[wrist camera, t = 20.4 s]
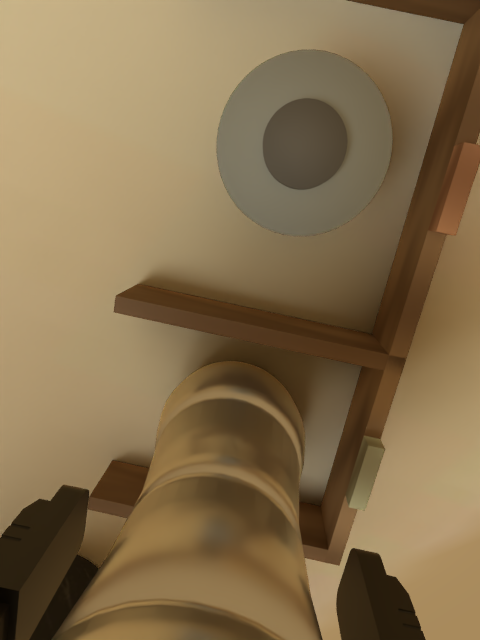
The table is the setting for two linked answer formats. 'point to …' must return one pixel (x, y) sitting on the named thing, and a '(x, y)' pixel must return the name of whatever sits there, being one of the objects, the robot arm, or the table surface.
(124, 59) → the table surface
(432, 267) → the slot rack
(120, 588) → the plastic bottle
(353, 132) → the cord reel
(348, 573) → the robot arm
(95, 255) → the table surface
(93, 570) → the travel mug
